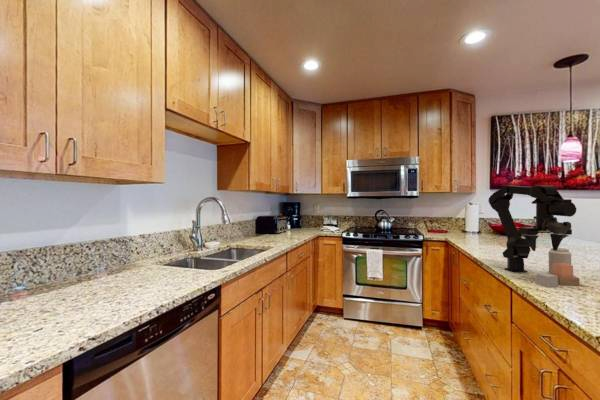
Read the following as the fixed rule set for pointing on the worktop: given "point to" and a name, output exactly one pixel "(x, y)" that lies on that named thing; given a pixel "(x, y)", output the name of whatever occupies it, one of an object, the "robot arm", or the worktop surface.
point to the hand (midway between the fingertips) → (544, 250)
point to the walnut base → (567, 281)
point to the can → (559, 257)
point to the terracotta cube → (562, 269)
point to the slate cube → (547, 280)
